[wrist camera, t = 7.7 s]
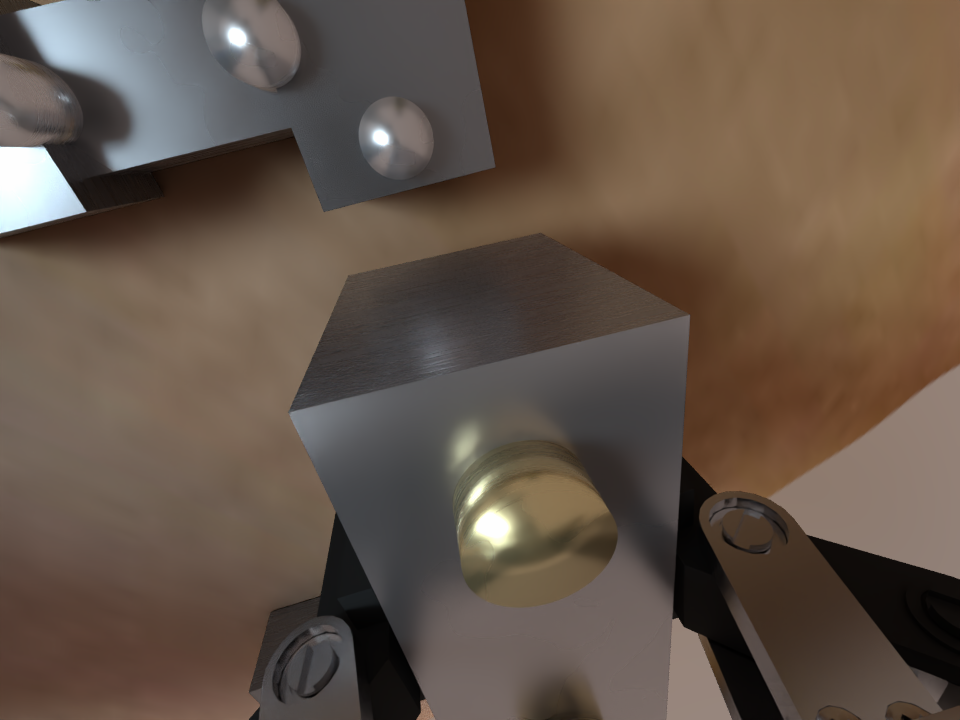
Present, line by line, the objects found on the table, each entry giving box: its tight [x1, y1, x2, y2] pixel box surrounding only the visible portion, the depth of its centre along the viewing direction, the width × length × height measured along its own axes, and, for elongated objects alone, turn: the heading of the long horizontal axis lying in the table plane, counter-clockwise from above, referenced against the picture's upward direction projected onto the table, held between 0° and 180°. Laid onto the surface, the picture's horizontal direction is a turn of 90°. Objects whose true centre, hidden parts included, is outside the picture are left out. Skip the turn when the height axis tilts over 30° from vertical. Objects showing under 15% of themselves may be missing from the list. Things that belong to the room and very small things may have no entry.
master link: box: [288, 233, 690, 720], centre depth 8 cm, size 10×4×6 cm, turn 10°
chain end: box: [0, 0, 495, 238], centre depth 7 cm, size 4×11×3 cm, turn 103°
